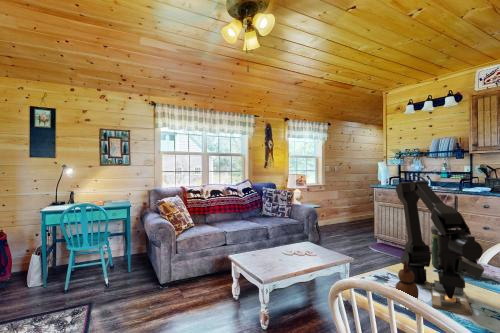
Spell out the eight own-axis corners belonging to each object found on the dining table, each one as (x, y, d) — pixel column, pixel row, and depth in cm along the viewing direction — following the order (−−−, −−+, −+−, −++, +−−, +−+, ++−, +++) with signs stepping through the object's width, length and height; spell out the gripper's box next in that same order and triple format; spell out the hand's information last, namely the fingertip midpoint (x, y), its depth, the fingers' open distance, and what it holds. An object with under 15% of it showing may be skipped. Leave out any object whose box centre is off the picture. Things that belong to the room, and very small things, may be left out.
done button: (445, 303, 87) (444, 298, 87) (444, 299, 89) (444, 294, 89) (456, 305, 85) (456, 301, 85) (455, 301, 87) (455, 296, 88)
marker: (431, 290, 96) (431, 280, 96) (431, 288, 99) (430, 278, 99) (463, 296, 91) (463, 286, 91) (462, 293, 94) (462, 283, 94)
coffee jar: (455, 272, 114) (453, 228, 114) (433, 269, 118) (431, 227, 118) (451, 264, 123) (450, 224, 123) (431, 262, 127) (429, 222, 127)
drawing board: (432, 307, 87) (432, 299, 87) (430, 288, 100) (430, 282, 100) (471, 315, 82) (471, 307, 82) (465, 294, 95) (464, 287, 95)
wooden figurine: (408, 310, 86) (406, 263, 86) (392, 302, 91) (391, 258, 91) (422, 305, 89) (420, 260, 89) (406, 297, 94) (404, 255, 94)
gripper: (487, 263, 75) (489, 319, 75) (476, 245, 91) (477, 291, 91) (438, 256, 81) (440, 308, 81) (435, 241, 97) (437, 284, 97)
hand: (450, 297), depth 87 cm, fingers closed, pressing on done button
